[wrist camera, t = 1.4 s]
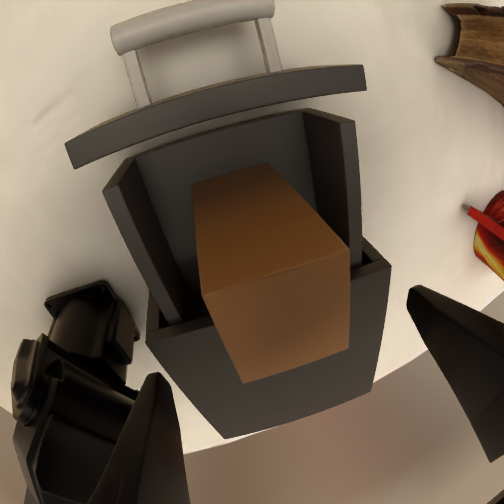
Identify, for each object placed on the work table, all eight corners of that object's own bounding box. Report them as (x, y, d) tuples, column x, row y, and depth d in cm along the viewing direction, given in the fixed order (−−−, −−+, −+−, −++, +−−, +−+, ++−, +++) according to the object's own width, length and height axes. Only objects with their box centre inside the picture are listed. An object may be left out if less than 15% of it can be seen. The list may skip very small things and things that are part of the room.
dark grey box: (152, 261, 20) (144, 343, 14) (333, 207, 21) (392, 265, 15) (213, 374, 29) (224, 439, 22) (339, 333, 29) (370, 391, 23)
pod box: (215, 256, 19) (243, 384, 11) (190, 184, 16) (201, 295, 8) (283, 235, 19) (349, 348, 11) (268, 161, 16) (350, 249, 8)
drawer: (81, 56, 12) (35, 48, 7) (295, 0, 12) (343, -27, 7) (176, 301, 22) (178, 363, 17) (334, 252, 22) (372, 301, 17)
